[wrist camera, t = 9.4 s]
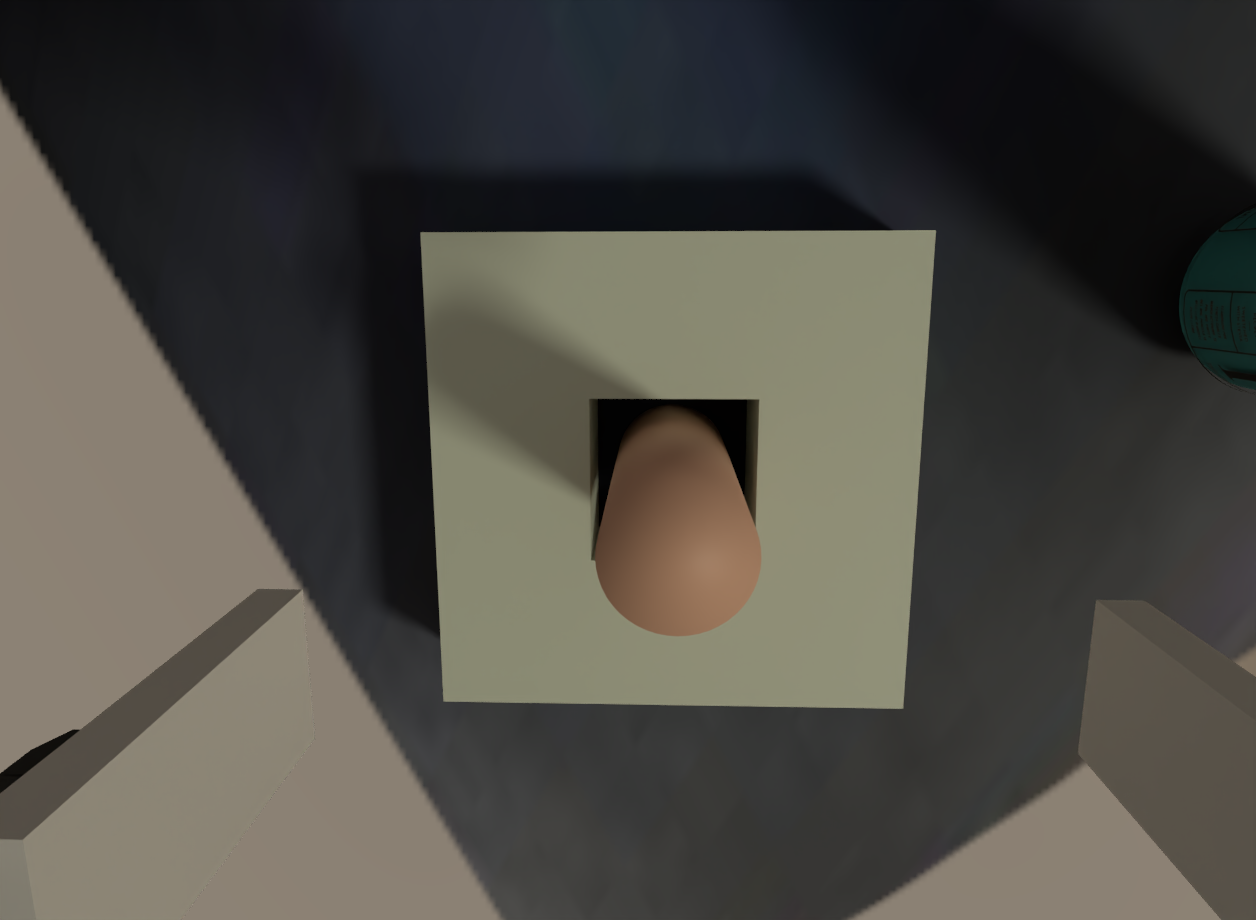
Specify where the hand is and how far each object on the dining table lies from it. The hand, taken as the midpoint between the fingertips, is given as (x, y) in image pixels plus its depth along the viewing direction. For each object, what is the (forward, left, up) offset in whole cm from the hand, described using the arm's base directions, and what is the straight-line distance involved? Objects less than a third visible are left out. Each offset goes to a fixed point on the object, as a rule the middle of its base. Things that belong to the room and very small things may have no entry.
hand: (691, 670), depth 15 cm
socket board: (0, 0, -19) cm, 19 cm away
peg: (0, 0, -19) cm, 19 cm away
